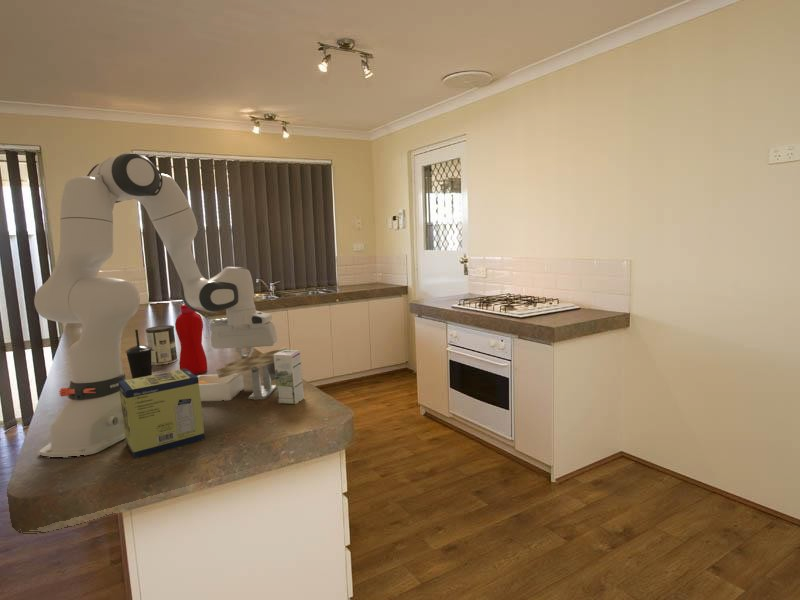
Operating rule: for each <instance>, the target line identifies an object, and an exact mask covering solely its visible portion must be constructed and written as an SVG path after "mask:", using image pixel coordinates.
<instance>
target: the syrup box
mask: <svg viewBox="0 0 800 600" xmlns="http://www.w3.org/2000/svg"><path fill="white" fill-rule="evenodd" d="M301 357H302V356H301V351H300V350H297V349H295V350H294V349H291V350H288V349H287V350H282V351H279V352H277V353H276V354H274V366H275V377H276V380H275V385H276V397H277V403H278V404H280V405H281V404H282V405H297V404H298V403H300V402H301V401H303V400H304V399H305V393H304V385H303V372H302V371H303V370H302V369H303V368H302V358H301ZM299 401H300V402H299Z"/></svg>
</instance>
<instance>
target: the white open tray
mask: <svg viewBox="0 0 800 600" xmlns="http://www.w3.org/2000/svg"><path fill="white" fill-rule="evenodd" d="M243 375H244V374H243V373H242V372H240V373H236V374H232V375H229V376H225V377H221V378H219V377H218V374H217V373H216V374H197V375H196V376H197V377H198V381H206V382H207V383H208V384H199V390H200V398H201V402H217V401H218V402H219V401H222V400H224V401H231V400H233V399H234V398H235V397H236V396H237V395H239V393H241V392H242V391H243V390H244V389H245V387H244V378H243V377H244V376H243ZM240 391H241V392H240ZM233 397H234V398H233Z"/></svg>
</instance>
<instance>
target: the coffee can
mask: <svg viewBox="0 0 800 600" xmlns="http://www.w3.org/2000/svg"><path fill="white" fill-rule="evenodd" d="M145 333H146V341H147V346H149V347H152V350H151V362H152V366H162V364H163V365H168V363H169V364H171V363H175V362H178V360H179V359H178V352H177V346H176V337H175V335H176V334H175V325H170V324H168V325H157V326H152V327H148V328H145Z"/></svg>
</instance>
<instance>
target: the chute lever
mask: <svg viewBox="0 0 800 600" xmlns="http://www.w3.org/2000/svg"><path fill="white" fill-rule="evenodd" d="M282 350H288V349H287V347H286V346H284V347H282V348H277V349H275V350H271V351H268V352H264V353H260V354H257V355H253V356H251V357H249V358H246V359H242V360H241V359H239V360H235V361H233V362H229V363H225V364H224V367H221V368H218V369H216V370H215V371H216V374H218V377H219V378H221V377H225V376H229V375H232V374H240V373H242V372H246V371H251V369H252V367H254V366H255V367H257V368H260V367H261V368H262V366H264V365H266V366H267V369H268V372H269V375H270V378H271V382H273V381H276V377H275V366H274V354H276V353H277V352H279V351H282Z"/></svg>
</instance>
